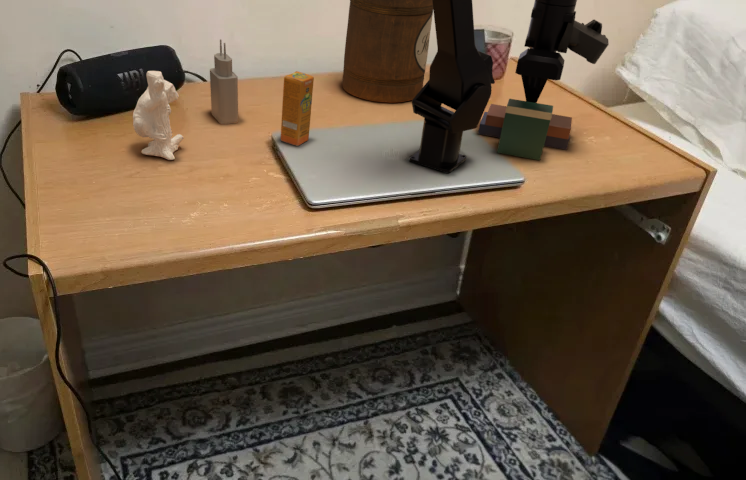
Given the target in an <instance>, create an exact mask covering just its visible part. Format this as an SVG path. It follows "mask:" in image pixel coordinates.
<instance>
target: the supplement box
mask: <svg viewBox="0 0 746 480" xmlns="http://www.w3.org/2000/svg"><path fill="white" fill-rule="evenodd" d="M314 81H315V77H314V76H312V75H310V74H308V73H305V72H301V71H298V70H296V71H294V72H293V73H290V74H286V75H284V77H283V89H282V106H281V123H280V124H281V125H280V141H282V142H284V143H286V144H290V145H293V146H295V147H296V146H297V147H299V146H300V145H302V144H304V143H305V142H307V141H309V139H310V126H311V115H312V103H313V91H314Z"/></svg>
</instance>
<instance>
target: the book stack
mask: <svg viewBox="0 0 746 480" xmlns="http://www.w3.org/2000/svg"><path fill="white" fill-rule="evenodd" d="M506 107H507V105H500V104H495V103H491V104H490V105H489V107H488V111H484V112H483V115H482V117H481V119H480V121H479V125H478V131H477V135H481V136H486V137H493V138H498V139H500V136H501V131H502V126H503V122H504V117H505V112H506ZM572 122H573V117H571V116H566V115H560V114H554V113H552V117H551V120H550V124H549V128H548V132H547V136H546V139H545V143H544V147H547V148H553V149H558V150H559V149H560V150H565V151H567V150H568V146H569V143H570V138H571V132H572V124H573V123H572Z"/></svg>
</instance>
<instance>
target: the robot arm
mask: <svg viewBox="0 0 746 480" xmlns="http://www.w3.org/2000/svg"><path fill="white" fill-rule="evenodd" d="M577 1H578V0H534V3H533V7H532V10H531V13H530V21H529V26H528V31H527V34H526V37H525V41H524V47H526V48H527V49H525V50H524V51H522V52H521V53H519V55H518V59H517V63H516V67H515V75H518V76H521V81H522V87H523V92H524V97H525V101H528V102H534V103H538V101H539V99H540V96H541V95H542V92H543V90H544V88H545V86H546V84H547V82H548V81H549V80H550V81H561V78H562V75H563V70H564V66H565V58H564V57H563V56H562V54H567V52H568V49H569V50H570V51H571V52H573V53H575V54H577V55H578V56H580V57H582V58H584V59H585V60H586V62H588V63H590V64H592V65H595V64H597V62H598V61H599V59H600V58H601V56H602V55H603V54H604V53H605V50H606V49H607V48H608V46H610V45H609V43H610V42H609V38H608V37H607V36H606V35H605V34H602V30H603V23H602V22H600V21H598V20H596V19H592V20H591V21H589V22H587V23H586V24H585V23H583V22H580V21H577V20H576V14H577V11H576V6H577ZM432 2H433V20H434V28H435V37H436V46H437V50H436V53H435V55H434V58H433V59H432V62H431V63H430V66H429V75H428V76H429V77H428V78H429V79H428V80H427V82H425V84H423V88H422V89H421V90H420V91H419V93H418V94H417V95H416V96H415V98H414V99H413V100H411V106H412V112H413V114H415V115H418V116H420V117H422V118H423V126H422V132H421V139H420V146H419V150H418V151H417V152H415V153H413V154H412V155H411V156H409V162H411V163H415V164H418V165H421V166H424V167H427V168H429V169H434V170H437V171H440V172H443V173H446V174H449V173H452V172H453V171H454V170H455V169H457V168H458V167H459V166H460V165H461V164H462V163H464V162H465V161H466V160H467V155H465V154H462V153H460V150H461V146H462V139H463V134H464V132H465V131H470V130H475V129H477V128H478V127H479V125H480V122H481V120H482V117H483V115H484V112H485V110H486V108H487V105H488V103H489V101H490V98H491V96H492V88H493V87H492V85H495V83H496V80H495V79H494V75H493V68H494V60H493V57H492V55H490V54H487V53H485V52H482V51H480V50H478V48H477V45H476V38H475V37H476V36H475V21H474V20H475V19H474V8H473V7H474V6H473V5H474V4H473V0H432ZM442 105H444V106H446V107H448V108H450V109H448V108H446V107H444V106H442ZM451 109H452V110H454V111H452V110H451Z"/></svg>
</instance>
